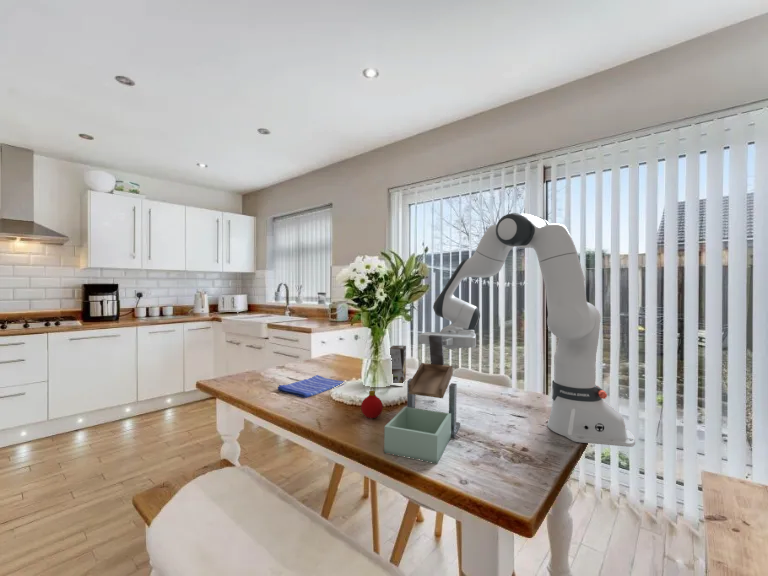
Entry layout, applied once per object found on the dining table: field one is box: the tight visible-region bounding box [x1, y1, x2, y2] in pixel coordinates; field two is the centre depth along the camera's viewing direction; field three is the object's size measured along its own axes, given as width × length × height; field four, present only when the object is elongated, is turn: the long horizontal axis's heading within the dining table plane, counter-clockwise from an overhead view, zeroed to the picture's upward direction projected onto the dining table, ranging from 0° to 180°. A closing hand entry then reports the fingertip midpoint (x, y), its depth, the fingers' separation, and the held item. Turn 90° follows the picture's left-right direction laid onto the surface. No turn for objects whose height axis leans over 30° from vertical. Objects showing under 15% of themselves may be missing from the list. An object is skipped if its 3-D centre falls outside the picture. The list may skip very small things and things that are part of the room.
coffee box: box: [389, 345, 407, 383], centre depth 155 cm, size 9×6×16 cm
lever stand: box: [406, 378, 461, 439], centre depth 108 cm, size 16×9×14 cm, turn 67°
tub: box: [383, 406, 452, 464], centre depth 97 cm, size 14×16×7 cm
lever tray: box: [408, 335, 454, 399], centre depth 107 cm, size 10×15×12 cm, turn 157°
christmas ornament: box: [360, 387, 384, 419], centre depth 116 cm, size 7×7×10 cm
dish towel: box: [277, 374, 345, 399], centre depth 149 cm, size 17×24×3 cm
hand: (442, 342), depth 121 cm, fingers closed
